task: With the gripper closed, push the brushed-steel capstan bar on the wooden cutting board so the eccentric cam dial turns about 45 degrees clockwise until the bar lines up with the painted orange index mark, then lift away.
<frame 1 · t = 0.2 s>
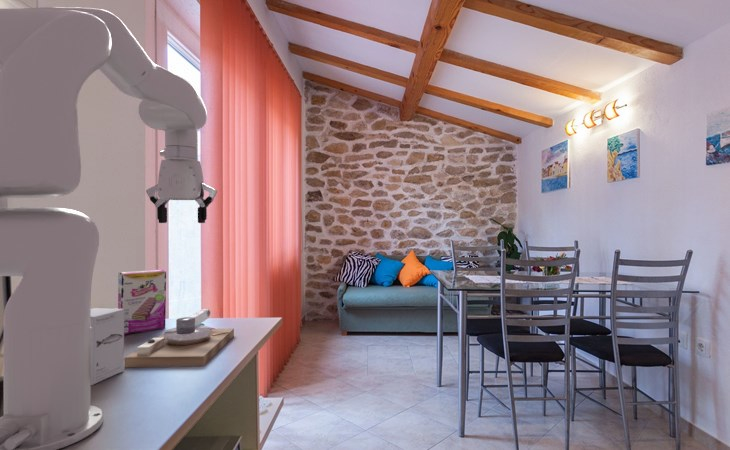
hand: (182, 222, 101), 30 cm above the tv stand, tool pointing down, fingers open, 9 cm apart
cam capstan: (194, 324, 98), point 5 cm above the tv stand, hinge at 0.0°
supplement box: (93, 378, 76), on the tv stand
candy bar box: (142, 331, 110), on the tv stand
wooden cutting board: (185, 349, 93), on the tv stand
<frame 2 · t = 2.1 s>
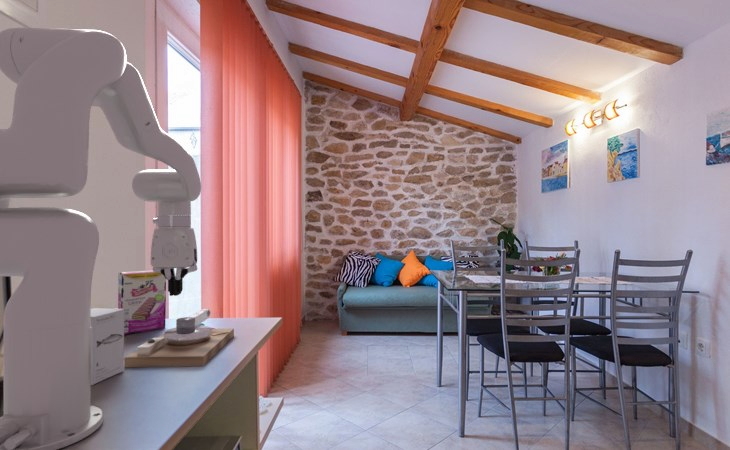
hand: (175, 294, 101), 11 cm above the tv stand, tool pointing down, fingers closed
nothing on the tv stand moved.
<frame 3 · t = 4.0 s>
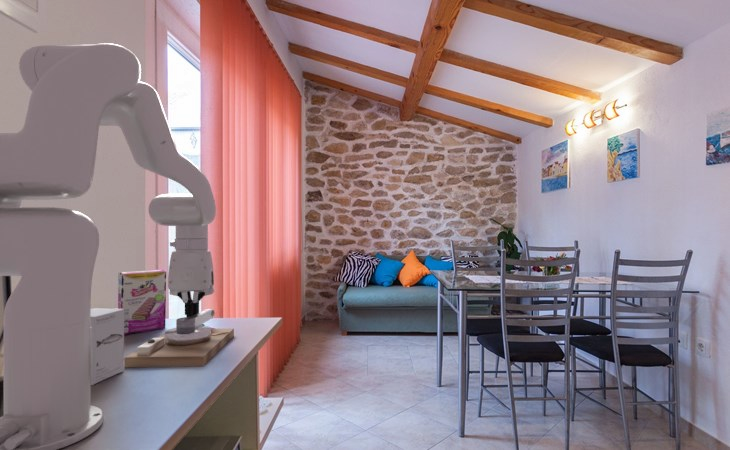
hand: (191, 317, 101), 6 cm above the tv stand, tool pointing down, fingers closed
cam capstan: (196, 324, 98), point 5 cm above the tv stand, hinge at -5.0°, touching gripper
everything else where it was.
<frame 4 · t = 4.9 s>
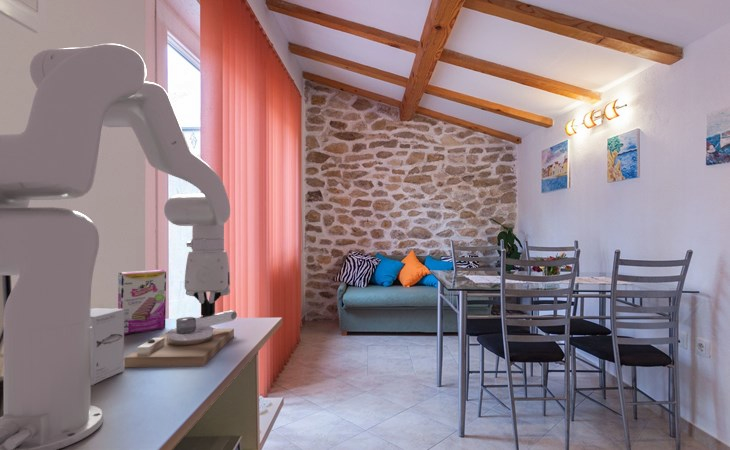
hand: (208, 318, 100), 6 cm above the tv stand, tool pointing down, fingers closed
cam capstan: (205, 325, 97), point 5 cm above the tv stand, hinge at -36.3°, touching gripper
everything else where it was.
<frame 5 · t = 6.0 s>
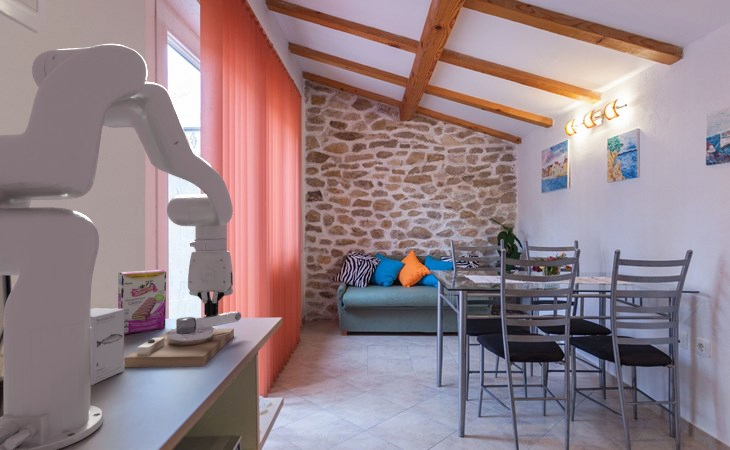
hand: (211, 317, 101), 6 cm above the tv stand, tool pointing down, fingers closed
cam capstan: (207, 325, 96), point 5 cm above the tv stand, hinge at -44.9°
everything else where it was.
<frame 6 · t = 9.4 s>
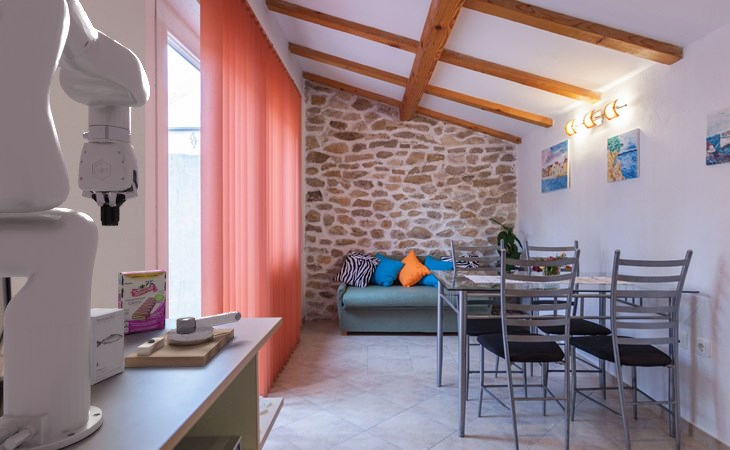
hand: (110, 225, 83), 29 cm above the tv stand, tool pointing down, fingers closed
nothing on the tv stand moved.
at the end: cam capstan at -45° (first picture: +0°); supplement box moved 0.2 cm from its start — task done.
